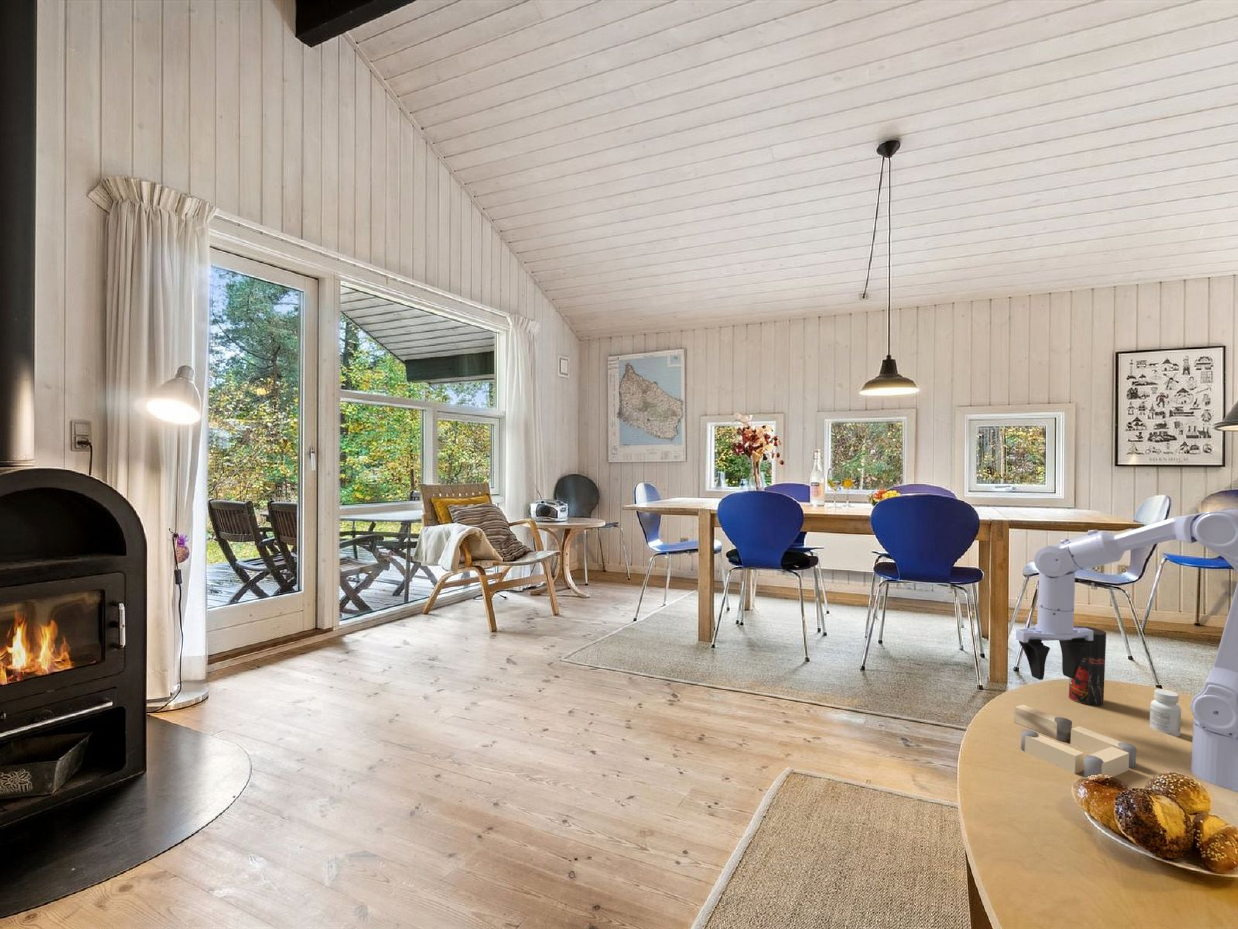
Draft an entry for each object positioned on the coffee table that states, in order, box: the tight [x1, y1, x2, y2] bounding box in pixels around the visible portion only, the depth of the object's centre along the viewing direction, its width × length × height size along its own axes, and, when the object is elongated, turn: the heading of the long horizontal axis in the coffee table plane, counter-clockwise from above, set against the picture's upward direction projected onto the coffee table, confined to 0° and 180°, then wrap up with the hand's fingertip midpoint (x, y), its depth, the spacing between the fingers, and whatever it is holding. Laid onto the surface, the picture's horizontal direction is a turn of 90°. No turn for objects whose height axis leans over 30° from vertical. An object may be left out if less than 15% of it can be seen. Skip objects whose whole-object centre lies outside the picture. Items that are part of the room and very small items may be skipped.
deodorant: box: [1068, 625, 1107, 707], centre depth 134 cm, size 6×6×15 cm
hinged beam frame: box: [1020, 725, 1137, 778], centre depth 108 cm, size 13×13×4 cm
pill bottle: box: [1149, 688, 1182, 738], centre depth 119 cm, size 4×4×8 cm
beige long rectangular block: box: [1013, 704, 1073, 743], centre depth 118 cm, size 9×3×3 cm, turn 26°
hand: (1053, 677), depth 122 cm, fingers open, 6 cm apart
